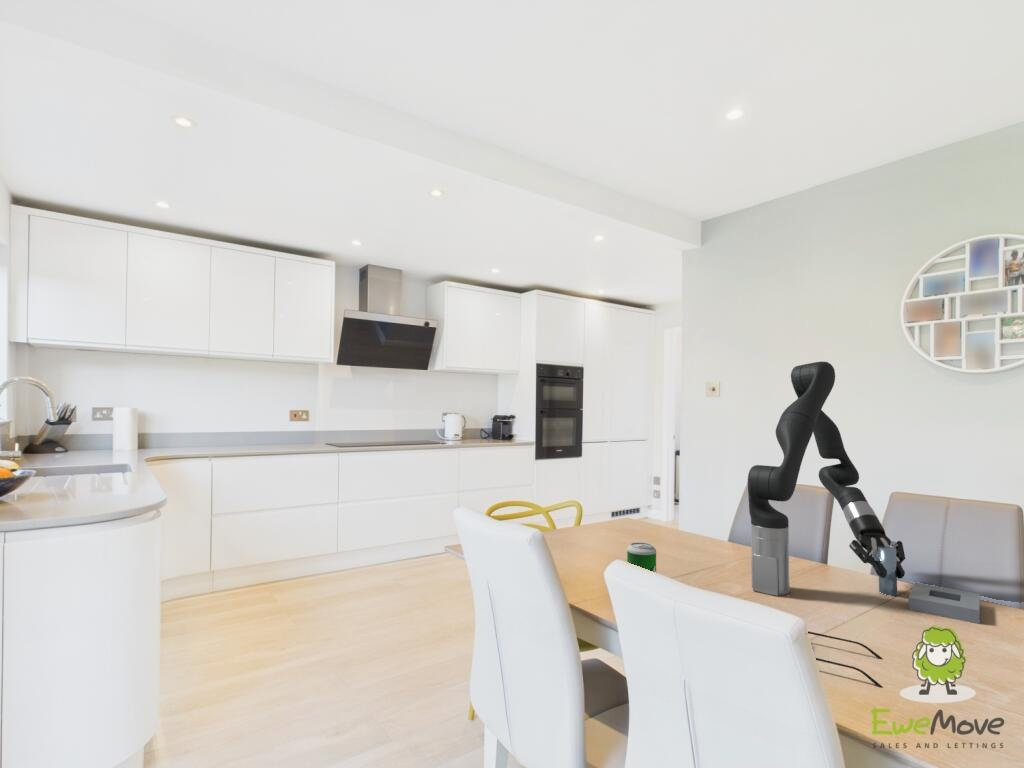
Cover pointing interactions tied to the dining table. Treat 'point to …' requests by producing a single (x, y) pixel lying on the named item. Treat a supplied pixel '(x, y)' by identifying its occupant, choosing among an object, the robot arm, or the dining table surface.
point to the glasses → (847, 665)
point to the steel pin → (888, 570)
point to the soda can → (642, 555)
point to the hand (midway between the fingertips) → (892, 576)
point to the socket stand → (945, 602)
